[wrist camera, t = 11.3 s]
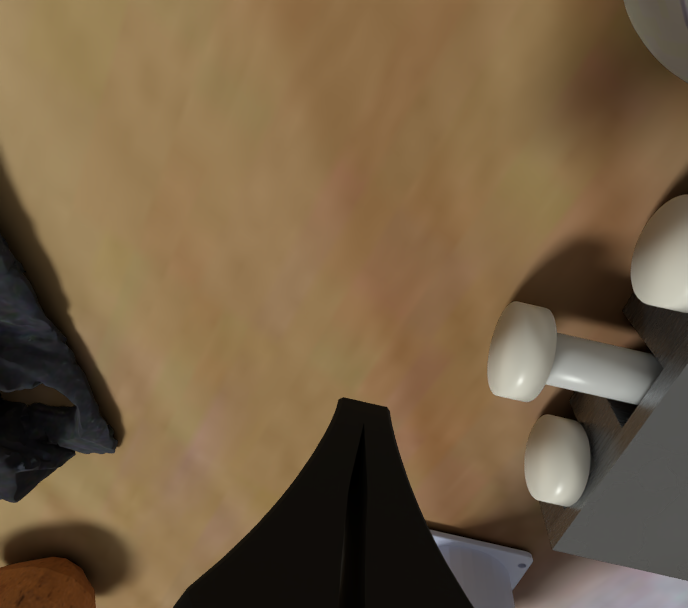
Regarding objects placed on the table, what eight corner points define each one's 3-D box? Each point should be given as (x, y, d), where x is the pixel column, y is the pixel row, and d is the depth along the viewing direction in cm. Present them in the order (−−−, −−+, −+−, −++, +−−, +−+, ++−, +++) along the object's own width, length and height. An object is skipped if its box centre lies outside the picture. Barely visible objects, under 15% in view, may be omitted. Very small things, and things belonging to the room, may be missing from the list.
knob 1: (669, 486, 26) (709, 558, 22) (518, 452, 26) (535, 518, 22) (713, 434, 23) (764, 505, 20) (549, 397, 23) (572, 462, 20)
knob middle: (652, 394, 23) (694, 460, 19) (482, 356, 23) (495, 415, 19) (700, 326, 21) (758, 387, 17) (513, 284, 21) (534, 337, 17)
